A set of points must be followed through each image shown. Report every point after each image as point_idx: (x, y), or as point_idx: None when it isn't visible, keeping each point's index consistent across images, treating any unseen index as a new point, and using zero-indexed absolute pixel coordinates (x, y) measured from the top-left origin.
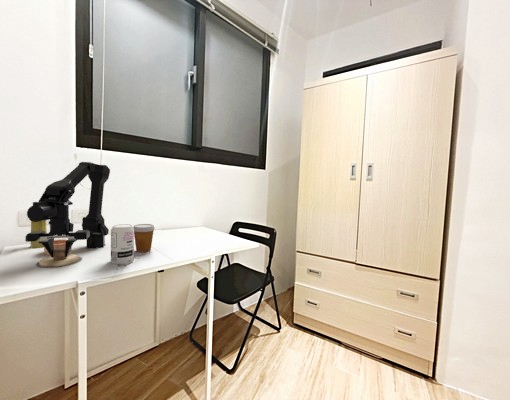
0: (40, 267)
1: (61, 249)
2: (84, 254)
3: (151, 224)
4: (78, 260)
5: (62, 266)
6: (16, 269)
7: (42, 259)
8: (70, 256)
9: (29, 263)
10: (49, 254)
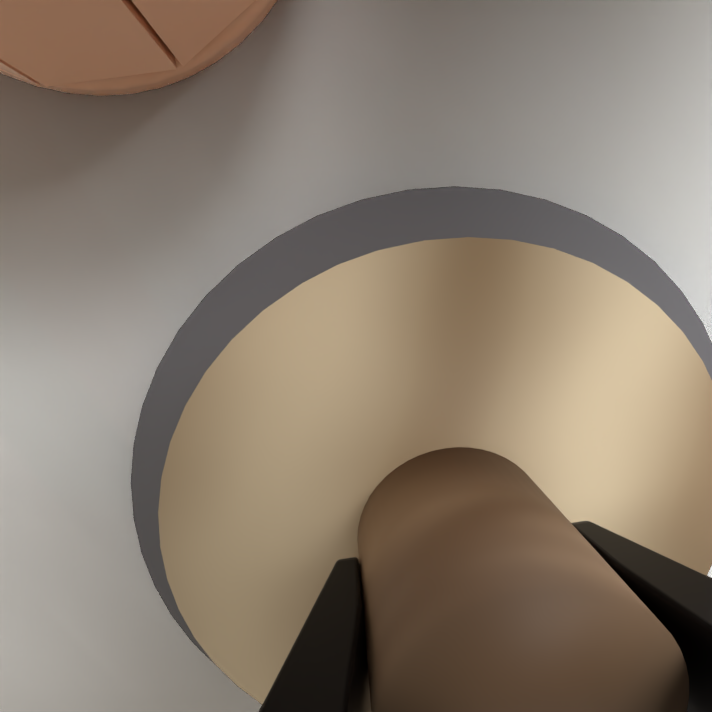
0: None
1: (550, 664)
2: (672, 11)
3: None
4: None
5: None
6: (32, 693)
7: (176, 551)
8: (575, 405)
9: (4, 489)
10: (9, 69)
